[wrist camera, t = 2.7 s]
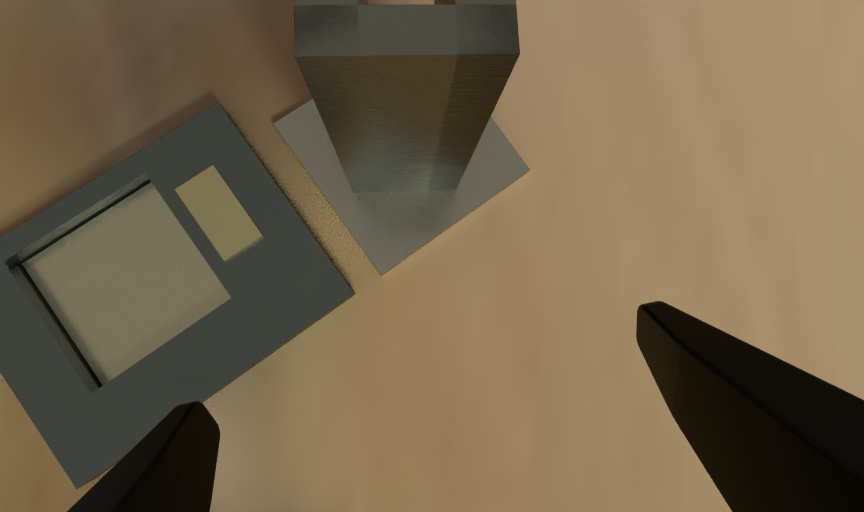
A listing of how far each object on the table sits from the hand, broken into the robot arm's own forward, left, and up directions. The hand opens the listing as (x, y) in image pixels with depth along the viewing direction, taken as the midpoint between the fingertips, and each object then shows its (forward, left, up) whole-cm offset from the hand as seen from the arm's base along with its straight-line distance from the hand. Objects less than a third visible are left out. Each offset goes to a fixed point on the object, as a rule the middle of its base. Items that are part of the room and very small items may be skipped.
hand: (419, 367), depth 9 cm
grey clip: (+7, -5, -12) cm, 15 cm away
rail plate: (+8, +8, -13) cm, 17 cm away
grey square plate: (+7, -5, -13) cm, 16 cm away
